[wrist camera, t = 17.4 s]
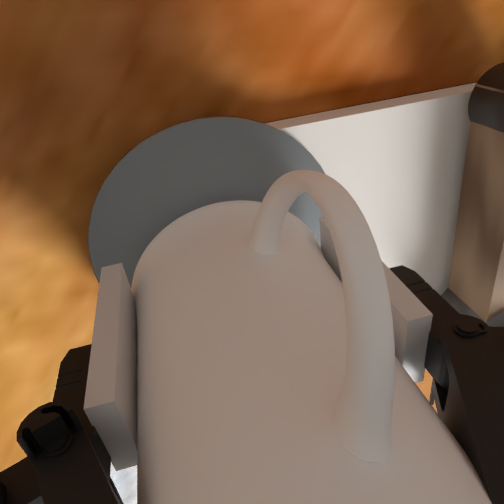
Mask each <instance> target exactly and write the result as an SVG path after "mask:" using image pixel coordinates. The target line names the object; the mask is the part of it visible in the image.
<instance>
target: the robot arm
mask: <svg viewBox="0 0 504 504" xmlns="http://www.w3.org/2000/svg"><path fill="white" fill-rule="evenodd" d="M319 219H320V244H321V250H322V253H323V255H324V258H325V259H326V261H327V262H328V264H329V265H330V267H331V268H332V269H333V271H334V272H335V274H336V275H337V276H338V278H339V279H340V281H341V282H342V279H341V273H340V268H339V263H338V259H337V254H336V250H335V247H334V243H333V240H332V237H331V234H330V231H329V228H328V226H327V223H326V221H325V219H324V217H320V218H319ZM381 261H382V260H381ZM382 265H383V269H384V273H385V277H386V282H387V287H388V292H389V297H390V304H391V311H392V319H393V329H394V343H395V356H396V358H397V359H398V360H399V362H400V363H401V364H402V366H403V367H404V369H405V370H406V371H407V373H408V374H409V375H410V377H411V378H412V380H413V381H414V382H415V383H417V382H421V381H423V378H424V371H425V368H426V369H427V371H428V372H429V373H430V374H431V376H432V377H433V381H432V387H431V394H430V404H431V405H433V404H434V399H435V403H436V408H437V412H438V415H439V417H440V418H441V419H442V421H443V422H444V423H445V425H446V426H447V428H448V429H449V430H450V432H451V433H452V434H453V436H454V437H455V439H456V440H457V441H458V443H459V444H460V445H461V447H462V448H463V450H464V451H465V452H466V454H467V456H468V457H469V459H470V460H471V462H472V464H473V466H474V468H475V469H476V471H477V473H478V475H479V477H480V479H481V481H482V483H483V485H484V487H485V489H486V491H487V493H488V495H489V498H490V500H491V502H492V504H504V327H492V326H488V325H487V324H486V323H485V322H483V321H482V320H481V319H479V318H476V317H473V316H471V315H464V314H459V313H458V312H457V311H456V310H455V309H454V308H453V307H452V306H451V305H450V304H449V303H448V302H447V301H446V300H445V299H444V298H443V297H442V296H441V295H440V294H438V293H437V292H436V291H435V290H434V289H432V287H431V286H430V285H429V284H428V283H427V282H425V280H424V279H423V278H422V277H421V276H420V275H419V274H418V273H417V272H416V271H414V270H412V269H409V268H407V267H405V266H403V265H400V266H396V267H392V268H388V267H387V266H386V265H385V264H384V263H383V262H382ZM17 442H18V443H19V445H20V446H21V447H22V449H23V450H24V452H25V453H26V454H27V457H26V458H24V459H23V460H21V461H20V462H18V463H16V464H14V465H13V466H11V467H9V468H7V469H5V470H4V471H2V472H0V504H123V502H122V500H121V497H120V495H119V493H118V491H117V489H116V487H115V485H114V483H113V481H112V479H111V477H110V466H111V462H112V464H113V466H114V468H115V469H116V471H118V470H121V469H125V468H128V467H131V466H135V465H137V317H136V309H135V302H134V296H133V293H132V290H131V288H130V285H129V282H128V279H127V276H126V273H125V271H124V268H123V265H122V263H118V264H114V265H110V266H105V267H102V268H101V275H100V283H99V291H98V299H97V307H96V315H95V322H94V330H93V338H92V344H90V345H86V346H82V347H78V348H74V349H70V350H69V351H68V353H67V354H66V356H65V357H64V359H63V360H62V362H61V364H60V369H59V374H58V379H57V384H56V390H55V393H54V398H53V402H49V403H47V404H45V405H42V406H40V407H38V408H37V409H35V410H34V411H32V412H31V413H30V414H29V415H28V416H27V417H26V418H25V419H24V420H23V421H22V423H21V424H20V427H19V429H18V431H17Z"/></svg>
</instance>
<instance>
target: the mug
mask: <svg viewBox="0 0 504 504" xmlns="http://www.w3.org/2000/svg"><path fill="white" fill-rule="evenodd" d="M303 192H307V193H308V194H309V195H310V196H311V197H312V198H313V199H314V201H315V202H316V204H317V205H318V207H319V209H320V210H321V212H322V214H323V216H324V219H325V221H326V223H327V226H328V228H329V231H330V234H331V237H332V240H333V243H334V247H335V250H336V254H337V259H338V263H339V268H340V273H341V279H342V282H341V281H340V279H339V278H338V276H337V275H336V274H335V272H334V271H333V269H332V268H331V267H330V265H329V264H328V262H327V261H326V259H325V258H324V255H323V253H322V250H321V245H320V243H319V241H318V239H317V238H316V236H315V235H314V233H313V232H312V231H311V230H310V228H309V227H308V226H307V225H306V224H305V223H304V222H302V221H301V220H300V219H299V218H297V217H296V216H295V215H293V214H291V213H290V212H288V210H289V208H290V207H291V205H292V204H293V202H294V201H295V200H296V198H297V197H298V196H299V195H301V194H302V193H303ZM131 290H132V293H133V296H134V302H135V309H136V317H137V504H492V502H491V500H490V498H489V495H488V493H487V491H486V489H485V487H484V485H483V483H482V481H481V479H480V477H479V475H478V473H477V471H476V469H475V468H474V466H473V464H472V462H471V460H470V459H469V457H468V456H467V454H466V452H465V451H464V450H463V448H462V447H461V445H460V444H459V443H458V441H457V440H456V439H455V437H454V436H453V434H452V433H451V432H450V430H449V429H448V428H447V426H446V425H445V423H444V422H443V421H442V419H441V418H440V417H439V415H438V414H437V412H436V411H435V410H434V408H433V407H432V406H431V404H430V403H429V401H428V400H427V399H426V397H425V396H424V395H423V393H422V392H421V390H420V389H419V388H418V386H417V385H416V384H415V382H414V381H413V380H412V378H411V377H410V375H409V374H408V373H407V371H406V370H405V369H404V367H403V366H402V364H401V363H400V362H399V360H398V359H397V358H396V356H395V343H394V329H393V319H392V311H391V304H390V297H389V292H388V287H387V282H386V277H385V273H384V269H383V265H382V261H381V258H380V255H379V251H378V248H377V245H376V243H375V240H374V237H373V235H372V232H371V230H370V227H369V225H368V223H367V221H366V219H365V217H364V215H363V213H362V211H361V210H360V208H359V206H358V205H357V203H356V202H355V200H354V199H353V197H352V196H351V195H350V194H349V192H348V191H347V190H346V189H345V188H344V187H343V186H342V185H341V184H340V183H339V182H337V181H336V180H335V179H333V178H331V177H330V176H328V175H326V174H323V173H321V172H317V171H312V170H295V171H291V172H288V173H286V174H284V175H282V176H281V177H279V178H278V179H277V180H276V181H275V182H274V183H273V184H272V186H271V187H270V188H269V190H268V191H267V193H266V195H265V197H264V199H263V201H262V202H257V201H247V200H235V201H225V202H219V203H214V204H210V205H207V206H204V207H201V208H198V209H196V210H193V211H191V212H189V213H187V214H185V215H183V216H181V217H180V218H178V219H176V220H175V221H173V222H172V223H171V224H169V225H168V226H167V227H165V228H164V229H163V230H162V231H161V232H160V233H159V234H158V235H157V236H156V237H155V238H154V239H153V240H152V241H151V242H150V244H149V245H148V246H147V248H146V249H145V251H144V252H143V254H142V256H141V258H140V260H139V262H138V264H137V266H136V269H135V272H134V276H133V280H132V286H131Z"/></svg>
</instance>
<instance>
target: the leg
mask: <svg viewBox="0 0 504 504" xmlns="http://www.w3.org/2000/svg"><path fill="white" fill-rule="evenodd" d="M468 115H469V119H470V126H469V134H468V141H467V149H466V156H465V164H464V171H463V179H462V186H461V194H460V201H459V209H458V216H457V224H456V231H455V239H454V246H453V254H452V261H451V269H450V276H449V284H448V288H447V289H446V290H445V291H444V293H443V294H442V295H441V296H442V297H443V298H444V299H445V300H446V301H447V302H448V303H449V304H450V305H451V306H452V307H453V308H454V309H455V310H456V311H457V312H458V313H459V314H464V315H471V316H473V317H476V318H479V319H481V320H482V321H483V322H485V323H486V324H487V325H488V326H492V327H504V63H501V64H498V65H496V66H494V67H492V68H491V69H490V70H488V71H487V72H486V73H485V74H484V75H483V76H482V77H481V78H480V79H479V81H478V82H477V84H475V87H474V89H473V91H472V93H471V96H470V99H469V103H468Z"/></svg>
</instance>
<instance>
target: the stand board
mask: <svg viewBox="0 0 504 504" xmlns="http://www.w3.org/2000/svg"><path fill="white" fill-rule="evenodd" d="M475 84H477V82H476V83H471V84H466V85H461V86H456V87H451V88H445V89H440V90H435V91H430V92H425V93H419V94H414V95H409V96H404V97H399V98H393V99H388V100H383V101H378V102H373V103H367V104H362V105H357V106H352V107H347V108H342V109H336V110H331V111H326V112H321V113H316V114H310V115H305V116H300V117H295V118H290V119H284V120H279V121H274V122H269V123H261V122H257V121H254V120H250V119H244V118H237V117H207V118H198V119H193V120H189V121H186V122H182V123H178V124H175V125H173V126H170V127H168V128H166V129H163V130H161V131H159V132H157V133H155V134H153V135H152V136H150V137H148V138H146V139H145V140H143V141H142V142H141V143H139V144H138V145H137V146H135V147H134V148H133V149H132V150H130V151H129V152H128V153H127V154H126V155H125V156H124V157H123V158H122V159H121V160H120V161H119V162H118V163H117V164H116V165H115V167H114V168H113V169H112V171H111V172H110V174H109V175H108V176H107V178H106V179H105V181H104V183H103V185H102V187H101V189H100V191H99V192H98V194H97V197H96V200H95V203H94V206H93V209H92V213H91V219H90V224H89V237H88V246H89V253H90V260H91V263H92V266H93V270H94V273H95V275H96V277H97V280H98V282H99V283H100V275H101V268H102V267H105V266H110V265H114V264H118V263H122V265H123V268H124V271H125V273H126V276H127V279H128V282H129V285H130V288H131V286H132V280H133V276H134V272H135V269H136V266H137V264H138V262H139V260H140V258H141V256H142V254H143V252H144V251H145V249H146V248H147V246H148V245H149V244H150V242H151V241H152V240H153V239H154V238H155V237H156V236H157V235H158V234H159V233H160V232H161V231H162V230H163V229H164V228H165V227H167V226H168V225H169V224H171V223H172V222H173V221H175V220H176V219H178V218H180V217H181V216H183V215H185V214H187V213H189V212H191V211H193V210H196V209H198V208H201V207H204V206H207V205H210V204H214V203H219V202H225V201H235V200H247V201H257V202H262V201H263V199H264V197H265V195H266V193H267V191H268V190H269V188H270V187H271V186H272V184H273V183H274V182H275V181H276V180H277V179H278V178H279V177H281V176H282V175H284V174H286V173H288V172H291V171H295V170H312V171H317V172H321V173H323V174H326V175H328V176H330V177H331V178H333V179H335V180H336V181H337V182H339V183H340V184H341V185H342V186H343V187H344V188H345V189H346V190H347V191H348V192H349V194H350V195H351V196H352V197H353V199H354V200H355V202H356V203H357V205H358V206H359V208H360V210H361V211H362V213H363V215H364V217H365V219H366V221H367V223H368V225H369V227H370V230H371V232H372V235H373V237H374V240H375V243H376V245H377V248H378V251H379V255H380V258H381V260H382V262H383V263H384V264H385V265H386V266H387V267H388V268H392V267H396V266H400V265H403V266H405V267H407V268H409V269H412V270H414V271H416V272H417V273H418V274H419V275H420V276H421V277H422V278H423V279H424V280H425V282H427V283H428V284H429V285H430V286H431V287H432V289H434V290H435V291H436V292H437V293H438V294H440V295H442V294H443V293H444V291H445V290H446V289H447V288H448V284H449V276H450V269H451V261H452V254H453V246H454V239H455V231H456V224H457V216H458V209H459V201H460V194H461V186H462V179H463V171H464V164H465V156H466V149H467V141H468V134H469V126H470V119H469V115H468V103H469V99H470V96H471V93H472V91H473V89H474V87H475ZM288 212H290V213H291V214H293V215H295V216H296V217H297V218H299V219H300V220H301V221H302V222H304V223H305V224H306V225H307V226H308V227H309V228H310V230H311V231H312V232H313V233H314V235H315V236H316V238H317V239H318V241H319V243H320V219H319V218H320V217H324V216H323V214H322V212H321V210H320V209H319V207H318V205H317V204H316V202H315V201H314V199H313V198H312V197H311V196H310V195H309V194H308V193H307V192H303V193H302V194H301V195H299V196H298V197H297V198H296V200H295V201H294V202H293V204H292V205H291V207H290V208H289V210H288ZM320 245H321V244H320Z"/></svg>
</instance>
